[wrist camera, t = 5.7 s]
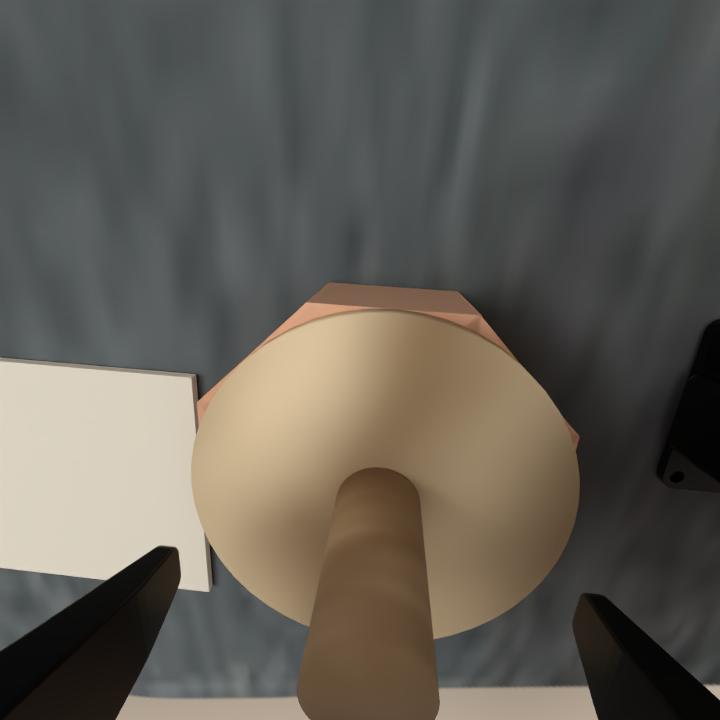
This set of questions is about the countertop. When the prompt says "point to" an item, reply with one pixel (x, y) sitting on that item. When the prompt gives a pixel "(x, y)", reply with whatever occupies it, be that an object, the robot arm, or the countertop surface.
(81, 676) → the robot arm
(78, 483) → the mat
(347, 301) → the bowl
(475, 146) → the countertop surface
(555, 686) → the countertop surface
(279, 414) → the lid
